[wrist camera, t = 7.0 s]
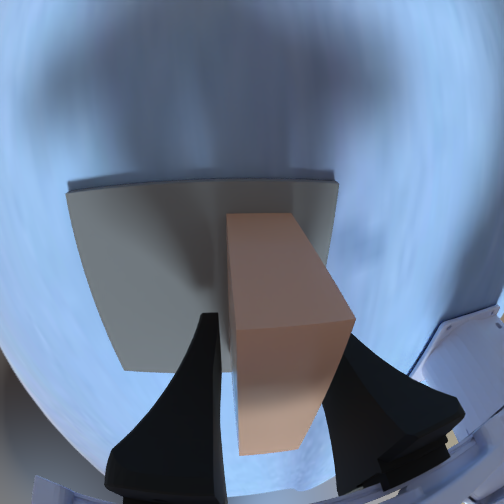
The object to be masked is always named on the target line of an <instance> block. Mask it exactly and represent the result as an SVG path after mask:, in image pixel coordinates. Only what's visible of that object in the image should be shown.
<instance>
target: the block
mask: <svg viewBox="0 0 504 504" xmlns="http://www.w3.org/2000/svg"><path fill="white" fill-rule="evenodd" d="M226 230H227V281H228V314H229V341H230V360H231V372H232V384H233V396H234V407H235V417H236V428H237V438H238V447H239V456H244V455H256V454H266V453H274V452H282V451H289V450H295V449H298V448H299V446H300V445H301V443H302V441H303V439H304V437H305V435H306V433H307V432H308V430H309V428H310V426H311V424H312V422H313V420H314V418H315V416H316V414H317V412H318V410H319V408H320V406H321V404H322V401H323V399H324V397H325V395H326V393H327V391H328V388H329V386H330V384H331V382H332V379H333V377H334V375H335V372H336V370H337V368H338V365H339V363H340V360H341V358H342V355H343V353H344V350H345V348H346V345H347V342H348V340H349V337H350V334H351V332H352V329H353V326H354V323H355V320H356V318H355V316H354V314H353V313H352V311H351V309H350V307H349V306H348V304H347V302H346V301H345V299H344V297H343V295H342V294H341V292H340V290H339V289H338V287H337V285H336V284H335V282H334V280H333V279H332V277H331V275H330V274H329V272H328V270H327V269H326V267H325V265H324V264H323V262H322V261H321V259H320V257H319V256H318V254H317V252H316V251H315V249H314V248H313V246H312V245H311V243H310V241H309V240H308V238H307V237H306V235H305V234H304V232H303V230H302V229H301V227H300V226H299V224H298V223H297V221H296V220H295V218H294V217H293V215H292V214H291V213H234V214H226Z"/></svg>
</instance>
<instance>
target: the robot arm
mask: <svg viewBox="0 0 504 504" xmlns="http://www.w3.org/2000/svg"><path fill="white" fill-rule="evenodd" d="M499 309H500V306H499V305H495V306H492V307H489V308H486V309H483V310H480V311H477V312H474V313H471V314H468V315H464V316H461V317H458V318H454V319H451V320H448V321H444V322H443V323H442V324H441V325H440V326H439V328H438V329H437V331H436V333H435V335H434V337H433V338H432V340H431V342H430V343H429V345H428V347H427V348H426V350H425V352H424V353H423V355H422V357H421V358H420V360H419V361H418V363H417V364H416V366H415V368H414V369H413V371H412V372H411V374H410V375H409V376H407V375H405V374H404V373H402V372H400V371H399V370H397V369H395V368H394V367H392V366H391V365H390V364H388V363H387V362H385V361H384V360H382V359H381V358H380V357H379V356H377V355H376V354H375V353H373V352H372V351H371V350H370V349H369V348H367V347H366V346H365V345H364V344H363V343H362V342H360V341H359V340H358V339H357V338H356V337H355V336H354V335H353V334H352V333H351V334H350V337H349V340H348V342H347V345H346V348H345V350H344V353H343V355H342V358H341V360H340V363H339V365H338V368H337V370H336V372H335V375H334V377H333V379H332V382H331V384H330V386H329V388H328V391H327V393H326V395H325V397H324V399H323V401H322V405H323V408H324V411H325V416H326V420H327V425H328V429H329V434H330V439H331V445H332V451H333V458H334V464H335V474H336V484H337V492H338V495H339V497H336V498H332V499H329V500H324V501H320V502H316V503H312V504H364V503H367V502H370V501H373V500H375V499H378V498H380V497H383V496H385V495H388V494H390V493H392V492H395V491H397V490H399V489H400V491H399V493H398V495H397V496H396V497H393V498H391V499H389V500H386V501H384V502H381V503H379V504H461V503H462V502H463V503H465V504H504V323H503V322H502V321H501V320H500V319H499V317H498V316H497V313H498V311H499ZM221 378H222V361H221V343H220V330H219V315H218V312H211V313H202V314H201V315H200V318H199V322H198V325H197V328H196V331H195V334H194V336H193V339H192V341H191V343H190V345H189V348H188V350H187V352H186V354H185V356H184V358H183V360H182V362H181V364H180V366H179V368H178V369H177V371H176V373H175V375H174V376H173V378H172V380H171V381H170V383H169V384H168V386H167V388H166V389H165V391H164V392H163V393H162V395H161V396H160V398H159V399H158V400H157V402H156V403H155V404H154V406H153V407H152V408H151V409H150V411H149V412H148V413H147V414H146V415H145V417H144V418H143V419H142V420H141V421H140V422H139V423H138V424H137V426H136V427H135V428H134V429H133V430H132V431H131V432H130V433H129V434H128V435H127V436H126V437H125V438H124V439H123V440H121V441H120V442H119V443H118V444H117V445H116V446H115V447H114V448H113V449H112V450H111V453H110V455H109V458H108V462H107V466H106V472H105V483H104V485H105V487H106V488H107V489H108V490H110V491H112V492H114V493H116V494H119V495H120V496H123V504H228V501H227V493H226V485H225V475H224V465H223V455H222V443H221V430H220V400H221ZM424 380H426V382H427V383H428V385H429V387H428V386H426V385H424V384H422V383H420V382H421V381H424ZM451 430H453V432H454V434H455V436H456V438H457V440H458V442H459V443H458V444H456V445H454V446H453V447H451V448H450V449H448V450H447V448H446V445H445V443H447V442H448V439H447V437H446V434H447V433H448V432H450V431H451ZM401 488H402V489H401ZM31 504H116V503H112V502H108V501H104V500H100V499H96V498H92V497H89V496H85V495H83V494H79V493H76V492H74V491H72V490H71V489H69V488H67V487H64V486H62V485H60V484H57V483H55V482H52V481H49V480H47V479H45V478H42V477H40V476H38V475H36V476H35V481H34V487H33V494H32V502H31Z"/></svg>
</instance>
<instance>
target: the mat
mask: <svg viewBox="0 0 504 504" xmlns="http://www.w3.org/2000/svg"><path fill="white" fill-rule="evenodd" d="M338 188H339V183H338V182H336V181H328V180H307V179H269V178H234V179H196V180H175V181H159V182H145V183H133V184H123V185H113V186H104V187H95V188H87V189H79V190H72V191H69V192H67V193H66V199H67V205H68V210H69V214H70V219H71V224H72V228H73V232H74V236H75V240H76V244H77V248H78V251H79V255H80V258H81V262H82V265H83V269H84V272H85V275H86V278H87V281H88V284H89V287H90V290H91V293H92V296H93V299H94V301H95V304H96V307H97V310H98V312H99V315H100V317H101V320H102V322H103V325H104V327H105V330H106V332H107V334H108V337H109V339H110V341H111V343H112V346H113V348H114V350H115V352H116V354H117V357H118V359H119V361H120V363H121V365H122V367H123V369H124V370H125V371H139V372H159V373H176V371H177V369H178V368H179V366H180V364H181V362H182V360H183V358H184V356H185V354H186V352H187V350H188V348H189V345H190V343H191V341H192V339H193V336H194V334H195V331H196V328H197V325H198V322H199V318H200V315H201V314H202V313H211V312H218V315H219V330H220V343H221V361H222V372H231V360H230V341H229V314H228V281H227V230H226V214H234V213H291V214H292V215H293V217H294V218H295V220H296V221H297V223H298V224H299V226H300V227H301V229H302V230H303V232H304V234H305V235H306V237H307V238H308V240H309V241H310V243H311V245H312V246H313V248H314V249H315V251H316V252H317V254H318V256H319V257H320V259H321V261H322V262H323V264H324V265H325V267H326V263H327V258H328V253H329V247H330V241H331V235H332V229H333V223H334V217H335V210H336V203H337V196H338Z"/></svg>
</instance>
